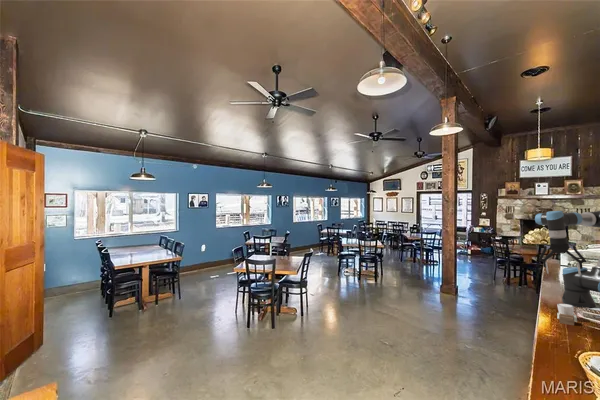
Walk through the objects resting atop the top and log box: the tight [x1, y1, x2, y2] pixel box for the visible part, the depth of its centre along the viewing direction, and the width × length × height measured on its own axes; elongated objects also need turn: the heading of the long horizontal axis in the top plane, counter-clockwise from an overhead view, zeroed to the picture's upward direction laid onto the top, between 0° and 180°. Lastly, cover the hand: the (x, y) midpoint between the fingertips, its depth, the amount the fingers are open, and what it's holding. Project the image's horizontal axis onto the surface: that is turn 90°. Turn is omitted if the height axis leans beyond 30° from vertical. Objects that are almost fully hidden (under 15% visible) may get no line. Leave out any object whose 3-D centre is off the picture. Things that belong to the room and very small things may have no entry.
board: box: [556, 312, 578, 322], centre depth 156 cm, size 11×8×1 cm
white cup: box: [556, 303, 575, 316], centre depth 155 cm, size 7×7×7 cm
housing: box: [558, 314, 576, 326], centre depth 149 cm, size 6×6×4 cm
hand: (563, 273), depth 161 cm, fingers open, 13 cm apart
